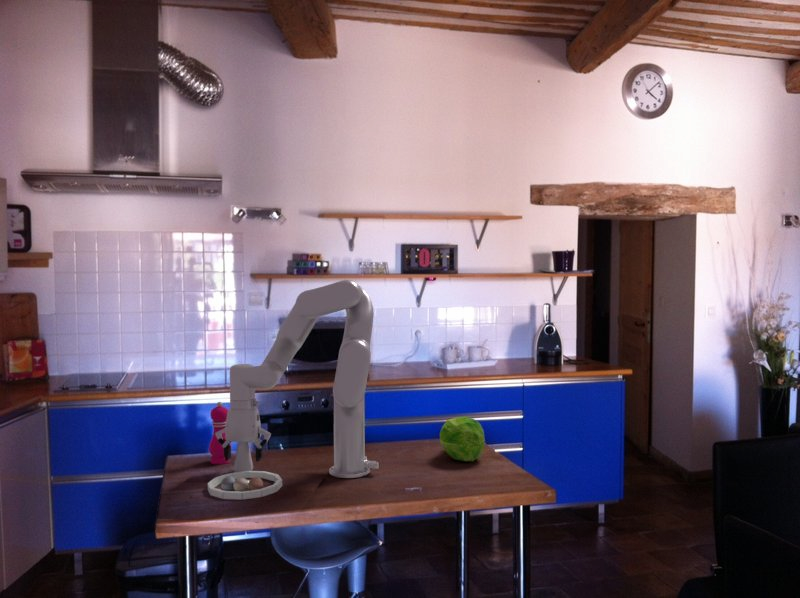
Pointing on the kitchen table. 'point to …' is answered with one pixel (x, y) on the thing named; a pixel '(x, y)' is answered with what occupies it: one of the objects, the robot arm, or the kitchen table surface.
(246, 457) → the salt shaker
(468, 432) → the lettuce
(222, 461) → the pepper mill
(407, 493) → the kitchen table surface
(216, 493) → the tray
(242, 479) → the bead cream
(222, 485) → the dusty blue bead
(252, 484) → the bead terracotta
